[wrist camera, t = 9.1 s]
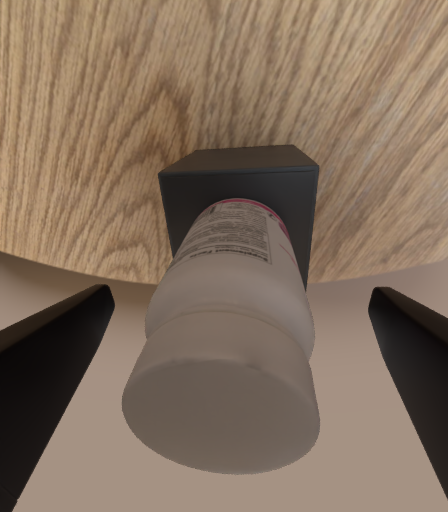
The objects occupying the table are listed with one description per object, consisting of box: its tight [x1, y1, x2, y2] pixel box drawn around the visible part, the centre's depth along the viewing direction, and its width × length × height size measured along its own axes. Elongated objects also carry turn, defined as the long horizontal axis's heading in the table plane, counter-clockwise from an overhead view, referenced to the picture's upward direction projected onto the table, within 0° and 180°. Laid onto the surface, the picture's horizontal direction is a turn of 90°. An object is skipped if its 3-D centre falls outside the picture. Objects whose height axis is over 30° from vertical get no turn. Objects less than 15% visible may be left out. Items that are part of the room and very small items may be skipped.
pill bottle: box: [122, 198, 320, 475], centre depth 9 cm, size 5×5×8 cm
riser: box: [158, 145, 319, 292], centre depth 16 cm, size 7×7×8 cm
